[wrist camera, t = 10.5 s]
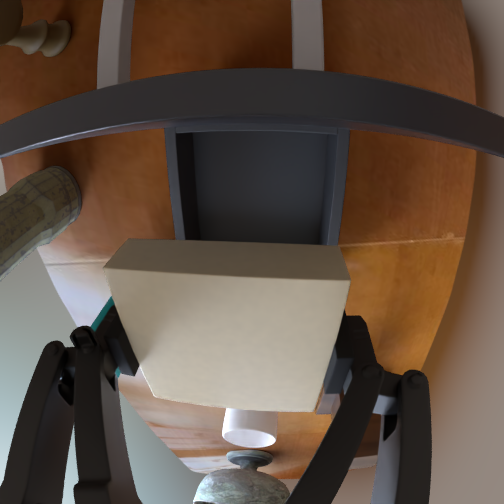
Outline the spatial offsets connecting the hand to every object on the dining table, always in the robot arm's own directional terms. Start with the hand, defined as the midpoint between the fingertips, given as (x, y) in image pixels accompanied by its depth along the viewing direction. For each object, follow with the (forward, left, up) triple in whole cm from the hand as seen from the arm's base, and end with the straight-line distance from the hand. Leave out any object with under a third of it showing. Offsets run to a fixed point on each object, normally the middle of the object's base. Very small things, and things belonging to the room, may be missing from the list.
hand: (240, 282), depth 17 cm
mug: (+9, +34, -16) cm, 38 cm away
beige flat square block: (0, 0, +3) cm, 3 cm away
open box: (0, 0, -15) cm, 15 cm away
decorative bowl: (+21, +73, -16) cm, 77 cm away
